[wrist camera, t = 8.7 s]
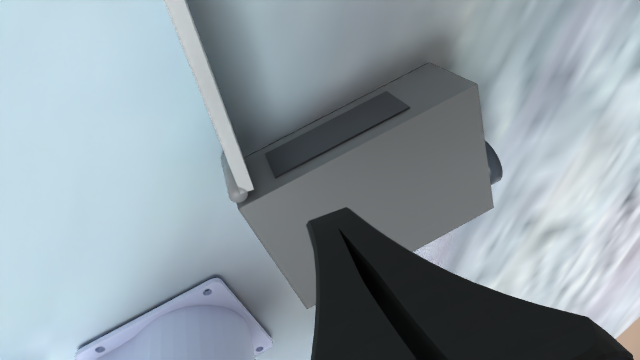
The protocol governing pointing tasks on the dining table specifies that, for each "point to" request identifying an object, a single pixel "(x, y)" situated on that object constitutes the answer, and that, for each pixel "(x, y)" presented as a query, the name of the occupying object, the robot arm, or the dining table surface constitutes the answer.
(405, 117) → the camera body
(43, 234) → the dining table surface
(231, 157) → the side door
